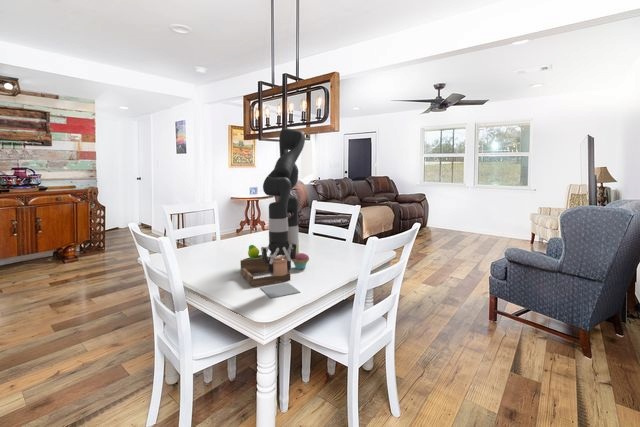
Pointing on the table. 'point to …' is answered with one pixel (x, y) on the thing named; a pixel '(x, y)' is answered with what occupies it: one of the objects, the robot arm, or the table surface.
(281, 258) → the peach round knob
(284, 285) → the gray square base plate
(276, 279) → the frame
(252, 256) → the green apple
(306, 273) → the table surface
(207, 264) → the table surface
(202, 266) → the table surface
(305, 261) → the cupcake
